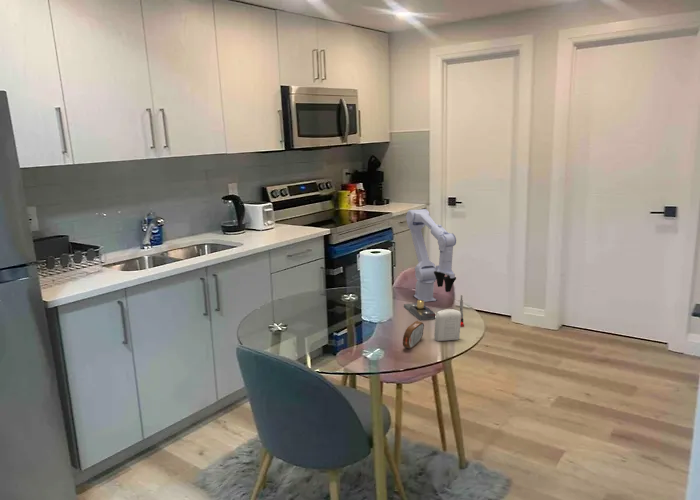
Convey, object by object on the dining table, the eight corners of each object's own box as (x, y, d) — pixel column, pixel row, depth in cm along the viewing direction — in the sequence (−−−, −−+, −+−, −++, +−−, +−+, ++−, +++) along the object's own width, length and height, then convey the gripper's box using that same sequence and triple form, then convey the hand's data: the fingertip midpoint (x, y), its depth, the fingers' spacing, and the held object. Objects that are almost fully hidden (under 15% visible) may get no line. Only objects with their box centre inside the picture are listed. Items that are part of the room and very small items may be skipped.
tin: (417, 337, 214) (418, 317, 212) (424, 338, 213) (425, 318, 211) (401, 350, 202) (402, 329, 200) (409, 352, 200) (410, 331, 198)
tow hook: (442, 328, 225) (464, 327, 224) (442, 299, 222) (465, 298, 221) (440, 320, 233) (461, 320, 232) (440, 292, 230) (462, 292, 229)
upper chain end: (409, 311, 242) (410, 305, 241) (423, 310, 244) (424, 304, 243) (420, 320, 231) (420, 314, 231) (435, 318, 234) (435, 312, 233)
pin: (415, 312, 241) (416, 299, 239) (421, 312, 242) (422, 299, 240) (418, 314, 238) (419, 302, 237) (424, 314, 239) (425, 301, 238)
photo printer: (456, 335, 216) (458, 307, 213) (461, 340, 212) (463, 310, 209) (432, 337, 213) (434, 308, 210) (436, 342, 209) (438, 312, 206)
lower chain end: (403, 306, 248) (403, 303, 248) (417, 305, 250) (417, 301, 250) (415, 316, 236) (416, 312, 235) (430, 315, 238) (430, 311, 238)
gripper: (430, 256, 247) (428, 285, 250) (445, 265, 233) (443, 294, 236) (444, 255, 249) (442, 283, 252) (459, 263, 235) (457, 293, 239)
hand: (443, 289), depth 244 cm, fingers open, 7 cm apart
